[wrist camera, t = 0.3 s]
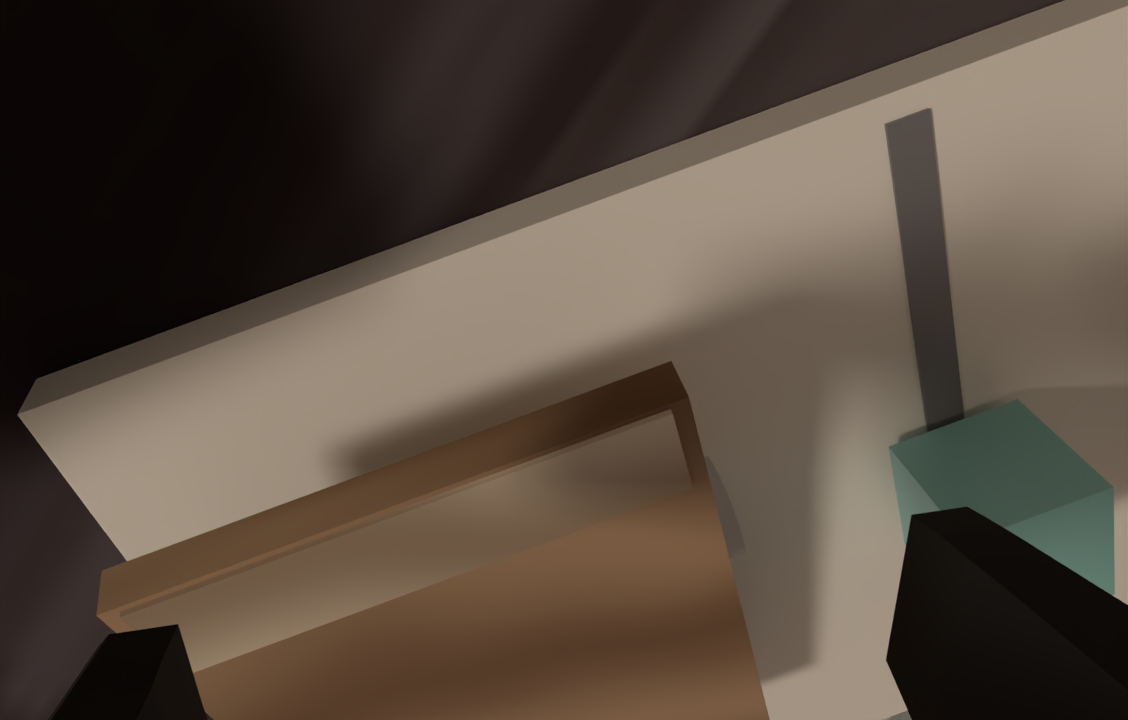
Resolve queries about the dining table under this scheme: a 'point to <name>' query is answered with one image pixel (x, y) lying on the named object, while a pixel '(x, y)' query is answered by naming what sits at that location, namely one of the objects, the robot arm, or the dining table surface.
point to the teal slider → (1013, 486)
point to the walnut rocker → (474, 581)
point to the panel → (698, 333)
